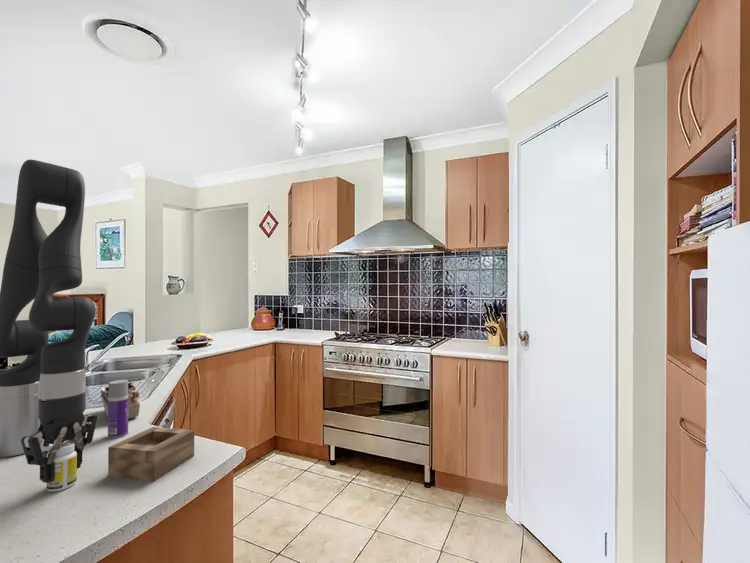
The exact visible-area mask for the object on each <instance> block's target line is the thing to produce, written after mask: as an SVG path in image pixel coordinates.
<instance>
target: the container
mask: <svg viewBox="0 0 750 563" xmlns="http://www.w3.org/2000/svg"><path fill="white" fill-rule="evenodd" d="M128 382H129V380H128V379H117V380H113V381H109V382H108V385H109V391H108V417H107V439H111V440H112V439H118V438H119V439H120V438H123V437H125V436H127V435H129V419H128Z"/></svg>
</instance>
